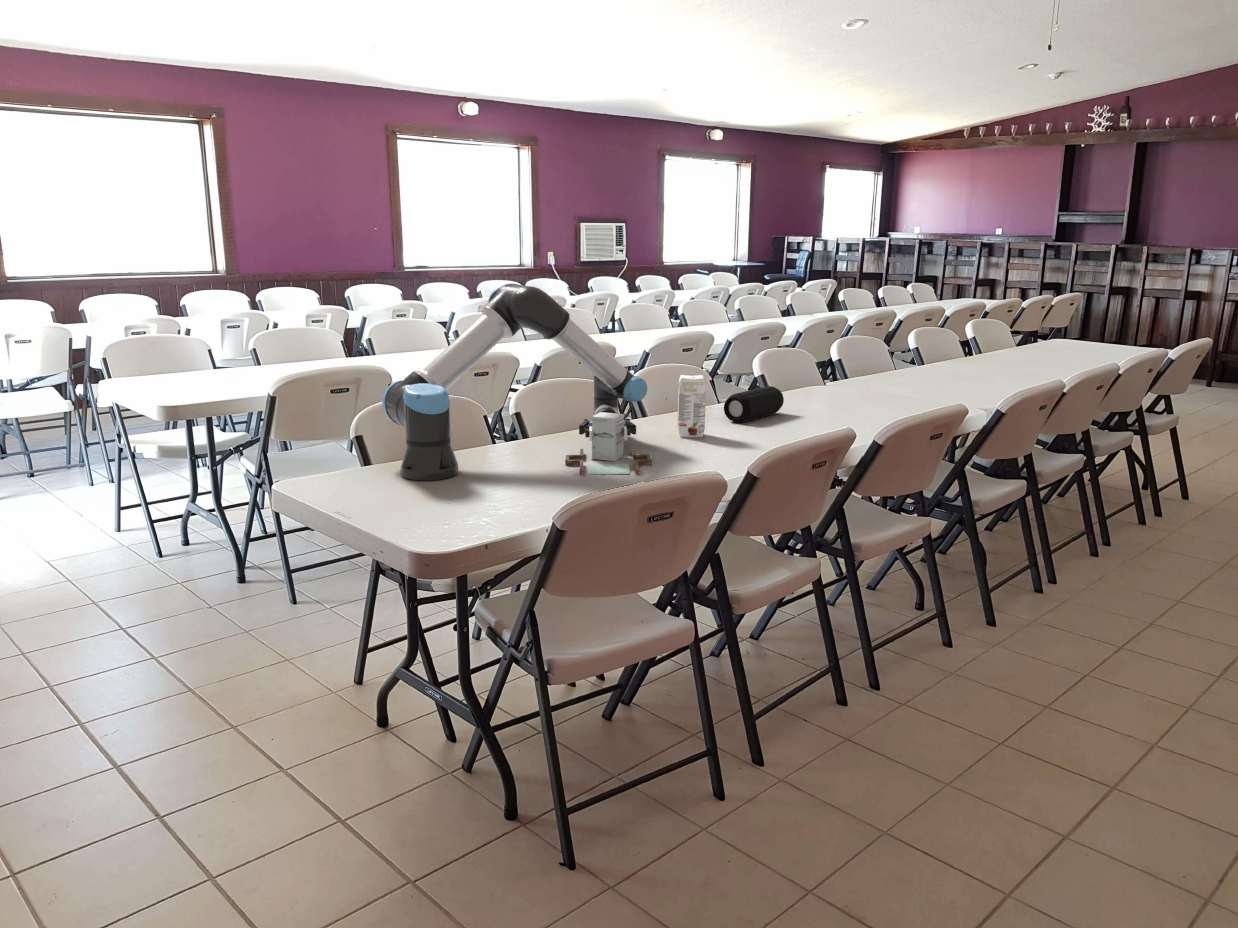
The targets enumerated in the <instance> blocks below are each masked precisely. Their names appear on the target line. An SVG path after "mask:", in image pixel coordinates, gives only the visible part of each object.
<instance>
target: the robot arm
mask: <svg viewBox="0 0 1238 928" xmlns="http://www.w3.org/2000/svg"><path fill="white" fill-rule="evenodd" d="M481 312H482V314H481V315H480V317H479V318H478V319H477V320H475V322H473V323H472V324H471V325H470V326H469V327H468V328H467V329H465V331H463V333H462V334H460V335H459V336H458V337H457V338H456V339H455V340H454V341H452V343H450V344H449V346H447V347H446V348H445V349H444V350H443V351H442V352H440V353H439V355H437V356H436V357H435V358H434V359H433V360H432V361H431V362H430V363H429V364H427V365H426V367H424V368H423V370H413V371H411V373H410V374H408V375H407V376H406V377H405V378H404V379H403V380H397V381H394V382H392V383H391V384H389V385H388V387H386V389H385V390H384V392H383V394H382V399H381V405H382V410H383V413H384V414H385V415H386V417H387V418H388V419H389V420H391V422H393V423H395V424H396V425H398V426H402V427H404V429H405V444H406V445H405V451H404V455H403V457H402V461H401V465H400V475H401V477H402V478H404V479H407V480H412V481H423V482H424V481H426V482H427V481H440V480H445V479H451V478H453V477H455V476H457V475H458V474H459V473H460V471H459V463H458V461H457V457H456V455H455V452H454V449H453V447H452V443H451V442H452V441H451V439H452V437H451V410H450V409H451V408H450V407H451V400H450V396H449V391H448V390H449V389H450V388H451V387H452V386H453V385H454V384H455V383H457V382H458V380H459V379H461V378H462V377H463V376H464V375H465V374H466V373H467V372H468V371H469V370H470V369H471V368H472V367H473V366H475V365H476V364H477V363H478V362H479V361H480V360H481V359H482V358H483V357H485V355H486V354H487V353H489V352H490V350H492V349H493V348H494V347H495V346H496V345H497V344H498V343H499V342H500V341H501V340H502V339H511V338H512V337H513V336H515V335H516V334H517V333H518V332H519V331H520V330H521V329H522V328H525V329H529V330H532V331H533V332H537V333H538V334H540V335H541V336H542V337H544V338H545V339H547V341H548V340H549V341H550V340H552V341H554V342H555V343H556V344H557V345H558V346H560V347H561V348H562V349H563V350H565V352H567V353H568V354H569V355H570V356H572V357H573V359H575V360H577V362H579V363H580V364H581V365H582V366H583V367H585V368H586V369H587V370H588V371H589V372H590V373H592V374H593V416H594V415H596V414H598V413H600V412H605V413H616V414H619V399H621V400H625V401H628V402H635V403H637V402H640V401H642V400H644V399H645V397H646V395H647V393H648V384H647V382H646V380H645V379H644V378H642V377H640V376H639V375H638V376H637V375H634V374H633V373H631V372H630V370H628V369H627V368H626V367H625V366H624V365H622V364H621V362H619V361H618V360H617V359H616V358H615V357H613V356H612V355H611V354H610V353H609V352H608V351H607V350H606V349H604V348H603V347H602V346H601V345H600V344H599V343H598V342H597V341H596V340H594V338H592V337H591V336H590V335H589V334H588V333H586V331H584V330H583V329H582V328H581V327H580V326H579V325H577V323H575V322H574V321H573V320H572V319H571V315H570V312H569V311H568V310H566V309H565V308H564V307H563V306H561V304H559V302H557V301H556V300H555V299H554V298H553V296H550V294H548V293H547V292H545V291H544V290H542V289H541V288H539V287H536V286H532V285H531V286H530V285H522V284H518V283H506V284H502V285H499V286H498V287H496V288H494V290H493V291H492V292H491V293H490V294H489V297H488V300H487V303H486V304H484V305H483V306H482V311H481ZM578 425H579V426H578V434H579V435H580V436H581V435H584V436H585V438H588V439H589V441H591V442H592V421H591V420H590V419H587V418H585V419H584V420H583V422H581V423H580V424H578ZM631 435H637V425H636V424H635V423H634V422H632V421H631V419H629V418H627V419H624V440H623V441H628V436H631Z"/></svg>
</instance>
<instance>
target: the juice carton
mask: <svg viewBox="0 0 1238 928" xmlns="http://www.w3.org/2000/svg"><path fill="white" fill-rule="evenodd" d="M677 387H678V390H677V392H678V393H677V428H678V433H679V436H680V438H688V439H689V438H694V439H695V438H699V439H700V438H703V435H704V434H705V433H704V432H705V428H706V402H707V400H706V399H707V393H706V392H707V384H706V380H705V377H704V375H703V374H701V375H700V374H699V375H686V374H680V375H679V380H678V386H677Z"/></svg>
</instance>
